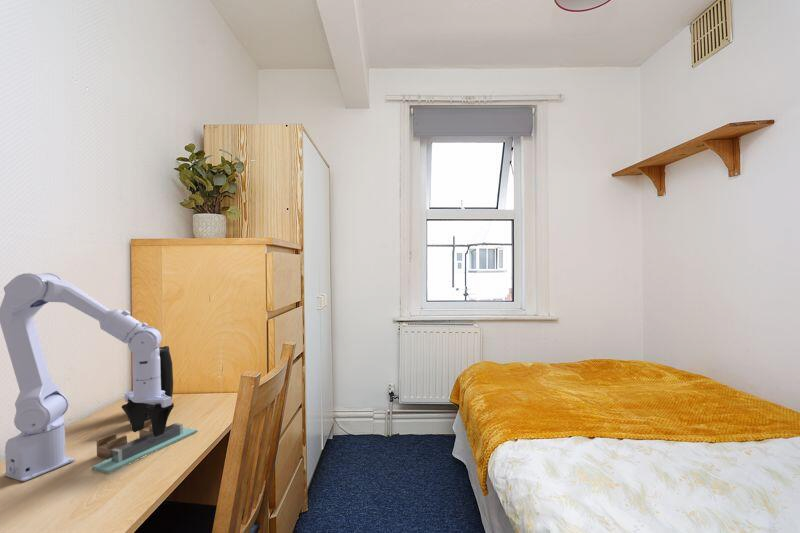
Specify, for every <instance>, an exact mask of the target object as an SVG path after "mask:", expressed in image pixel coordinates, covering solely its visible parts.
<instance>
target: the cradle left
mask: <svg viewBox="0 0 800 533" xmlns="http://www.w3.org/2000/svg"><path fill="white" fill-rule="evenodd" d="M127 443H128V436H127V435H125V434H124V435H122V436H120V437H117V433H116V432H115V433H112V434H109V435H106V436H104V437H101V438H98V439H96V457H97V458H100V459H103V460H108V459H110V458H111V450H112V449H115V448H117V447H120V446H122V445H124V444H127Z"/></svg>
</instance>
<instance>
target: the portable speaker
mask: <svg viewBox="0 0 800 533" xmlns="http://www.w3.org/2000/svg"><path fill="white" fill-rule="evenodd" d="M158 347H159V351H160V370H161V390H163V391H165V395H166V396H169V397H171V400H173V393H174V376H173V375H174V374H173V373H174V372H173V371H174V370H173V361H172V356H171V352H170V346H169V345H164V346H158ZM158 347H157V348H158ZM155 349H156V348H155Z"/></svg>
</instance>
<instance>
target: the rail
mask: <svg viewBox="0 0 800 533" xmlns="http://www.w3.org/2000/svg"><path fill="white" fill-rule="evenodd" d="M183 427H184V426H183V423H180V422H175V423H173V424H170V425H168V426H167V425H166V427H165V430H164V434H161V435H159V436H157V437H155V436H154V435H153V433H151V434H148V435H146V436H143V437H141V438H139V437H138V438H137V439H134V440H132V441H129V442H127V444H124V445H122V446H120V447H117V448H115V449H112V450H111V459H112V461H113V462H117V463H119V462H121V461H123V460H126V459H128V458H130V457H132V456H134V455H137V454H139V453H141V452H143V451H145V450H148V449H150V448H152V447H154V446H156V445H159V444H161V443H163V442H165V441H167V440H170V439H172V438H174V437H176V436H178V435H181V434H183Z"/></svg>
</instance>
